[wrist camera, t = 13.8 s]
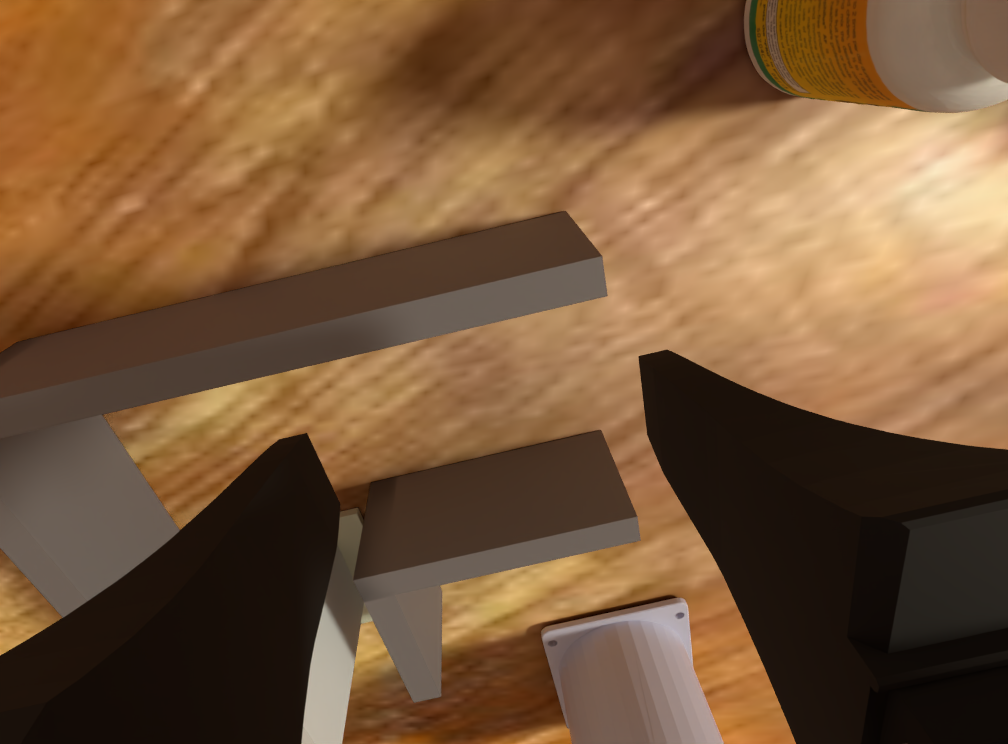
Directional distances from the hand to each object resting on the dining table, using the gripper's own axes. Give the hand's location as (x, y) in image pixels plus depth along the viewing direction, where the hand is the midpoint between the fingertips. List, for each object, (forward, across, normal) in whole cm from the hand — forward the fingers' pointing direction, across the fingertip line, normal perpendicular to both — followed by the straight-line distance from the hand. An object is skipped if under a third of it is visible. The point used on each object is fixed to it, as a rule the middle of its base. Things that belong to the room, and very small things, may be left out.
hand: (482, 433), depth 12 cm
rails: (+10, +6, +7) cm, 14 cm away
